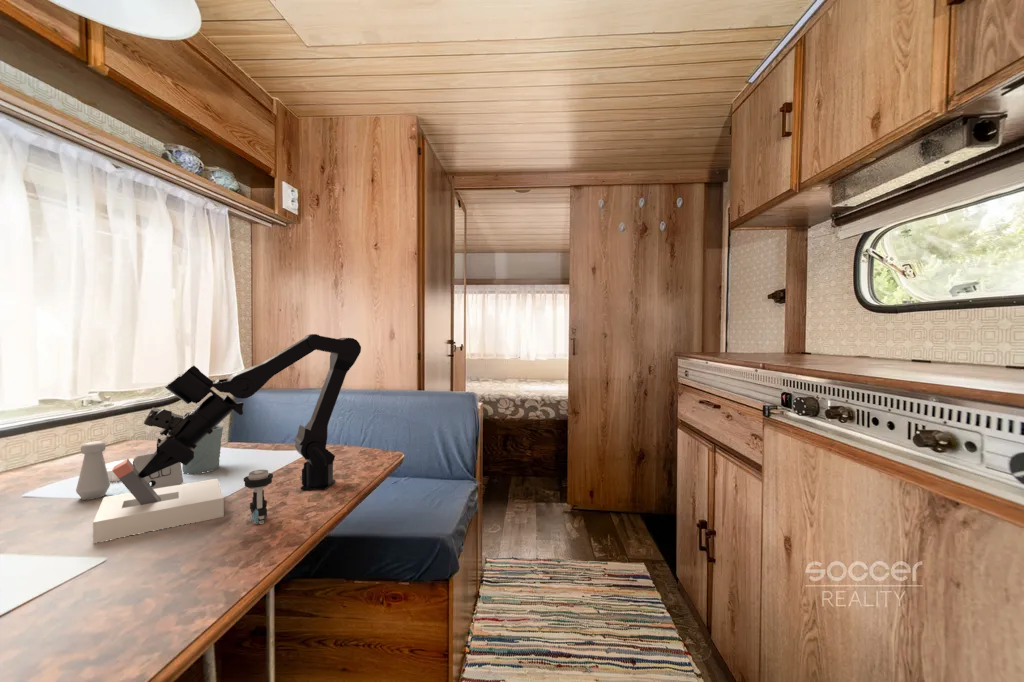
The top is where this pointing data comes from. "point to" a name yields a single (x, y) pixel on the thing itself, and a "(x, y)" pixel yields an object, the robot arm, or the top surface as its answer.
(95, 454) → the salt shaker
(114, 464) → the mooncake
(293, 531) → the top surface
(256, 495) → the push button
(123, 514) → the box
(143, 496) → the lever
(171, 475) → the electrical switch
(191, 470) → the green cup
